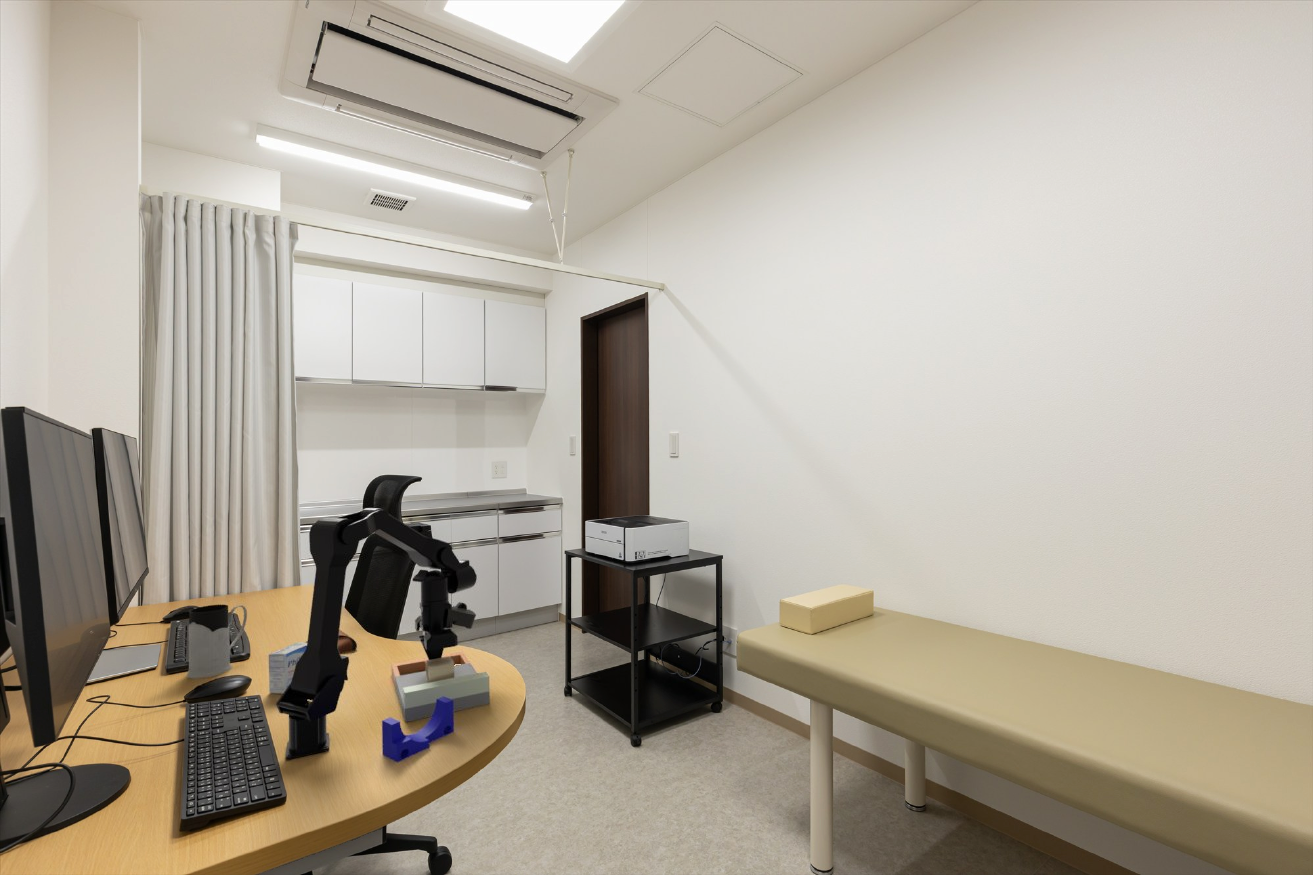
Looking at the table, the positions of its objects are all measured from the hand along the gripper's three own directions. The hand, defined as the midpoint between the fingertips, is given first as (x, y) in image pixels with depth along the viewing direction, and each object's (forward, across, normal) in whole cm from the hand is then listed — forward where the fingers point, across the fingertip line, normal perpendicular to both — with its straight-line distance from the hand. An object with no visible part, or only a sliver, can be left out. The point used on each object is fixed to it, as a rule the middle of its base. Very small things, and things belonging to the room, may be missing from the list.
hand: (435, 669), depth 133 cm
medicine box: (+4, +16, +28) cm, 33 cm away
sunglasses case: (+4, +44, +20) cm, 49 cm away
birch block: (+1, -4, 0) cm, 5 cm away
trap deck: (+4, -2, 0) cm, 4 cm away
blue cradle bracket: (+4, -26, +6) cm, 27 cm away
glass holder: (+4, +41, +44) cm, 60 cm away
